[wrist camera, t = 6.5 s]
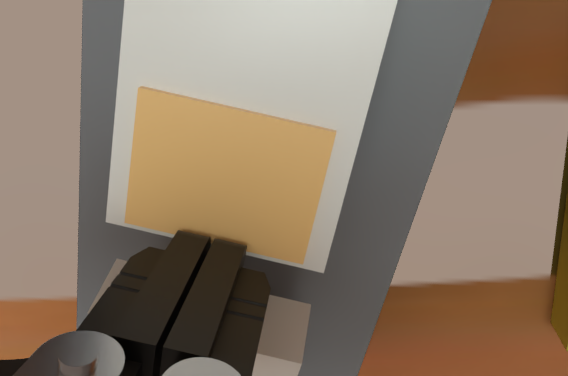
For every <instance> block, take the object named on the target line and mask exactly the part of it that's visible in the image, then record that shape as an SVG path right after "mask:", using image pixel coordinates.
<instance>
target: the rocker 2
mask: <svg viewBox="0 0 568 376" xmlns="http://www.w3.org/2000/svg"><path fill="white" fill-rule="evenodd" d="M126 263H127V261H125V260H121V259H116V261H115V263H114V265H113V266H112V268H111V270H110V272H109V274H108V276H107V277H106V279H105V281H104V283H103V285H102V287H101V289H100V290H99V292H98V294H97V296H96V298H95V300H94V302H93V303H92V305H91V307H90V309H89V311H88V314H89V313H90V311H91V310H92V308H93V307H94V306H95V304H96V303H97V302H98V300H99V299H100V298H101V296H102V295H103V294H104V292H105V291H106V290H107V288H108V287H110V286H111V283H112V281H113V280H114V279H115V277H116V276H117V275H118V274H119V273H120V271H121V269H122V268H123V267H124V265H125V264H126ZM310 309H311V304H307V303H303V302H299V301H294V300H290V299H286V298H282V297H277V296H273V295H269V300H268V304H267V309H266V313H265V318H264V322H263V327H262V331H261V336H260V341H259V345H258V350H257V354H256V359H255V363H254V368H253V373H252V376H298V373H299V371H300V368H301V365H302V360H303V354H304V348H305V341H306V335H307V328H308V322H309V316H310Z"/></svg>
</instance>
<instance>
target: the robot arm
mask: <svg viewBox="0 0 568 376" xmlns="http://www.w3.org/2000/svg"><path fill="white" fill-rule="evenodd" d="M246 249H247V245H243V244H238V243H234V242H230V241H225V240H221V239H216V238H215V239H214V241H213V243H212V245H211V237H207V236H203V235H198V234H194V233H189V232H185V231H180V230H178V231H177V232H176V234H175V235H174V237H173V239H172V240H171V242H170V243H169V245H168V246H167V248H166V250H162V249H158V248H154V247H147V248H146V249H144V250H142V251H140V252H138V253H137V254H135V255H133V256H131V257H130V258H129V260H128V261H127V263H126V264H125V265H124V267H123V268H122V269H121V271H120V273H119V274H118V275H117V276H116V277H115V279H114V280H113V281H112V283H111V286H110V287H108V288H107V290H106V291H105V292H104V294H103V295H102V296H101V298H100V299H99V300H98V302H97V303H96V304H95V306H94V307H93V308H92V310H91V311H90V313H89V314H88V315H87V317H86V318H85V319H84V321H83V322H82V323H81V325H80V326H79V327H78V329H77V330H76V331H73V332H68V333H64V334H61V335H58V336H56V337H54V338H52V339H50V340H48V341H47V342H45V343H44V344H42V345H41V346H40V347H39V348H38V349H37V350H36V351H35V352H34V353H33V354H32V355H31V356H30V357H29V358H25V359H15V360H0V376H252V373H253V368H254V363H255V359H256V354H257V350H258V345H259V341H260V336H261V331H262V327H263V322H264V318H265V313H266V309H267V304H268V300H269V295H270V290H271V288H270V285H269V282H268V280H267V277H266V275H265V273H264V272H260V271H255V270H251V269H247V268H243V266H244V261H245V256H246Z"/></svg>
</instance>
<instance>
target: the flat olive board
mask: <svg viewBox="0 0 568 376" xmlns="http://www.w3.org/2000/svg"><path fill="white" fill-rule="evenodd" d="M551 275H557V276H556V284H555V292H554V299H553V307H552V315H551V324H552V326H553V327H554V329H555V331H556V333H557V335H558V336H559V338H560V340H561V342H562V344H563V345H564V347H565V349H566V351H568V137H567V145H566V153H565V161H564V170H563V178H562V186H561V194H560V203H559V210H558V219H557V226H556V235H555V243H554V251H553V259H552V268H551Z"/></svg>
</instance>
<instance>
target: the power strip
mask: <svg viewBox="0 0 568 376" xmlns="http://www.w3.org/2000/svg"><path fill="white" fill-rule="evenodd" d="M491 2H492V0H398V1H397V5H396V9H395V12H394V16H393V20H392V23H391V27H390V31H389V34H388V38H387V42H386V45H385V49H384V53H383V56H382V60H381V64H380V67H379V71H378V75H377V79H376V82H375V86H374V90H373V93H372V97H371V101H370V104H369V108H368V112H367V115H366V119H365V123H364V126H363V130H362V134H361V137H360V141H359V145H358V149H357V152H356V156H355V160H354V163H353V167H352V171H351V174H350V178H349V182H348V185H347V189H346V193H345V196H344V200H343V204H342V208H341V211H340V215H339V219H338V222H337V226H336V230H335V233H334V237H333V241H332V244H331V248H330V252H329V255H328V259H327V263H326V266H325V270H324V273H321V272H316V271H312V270H308V269H304V268H299V267H295V266H291V265H287V264H282V263H278V262H274V261H269V260H265V259H261V258H257V257H252V256H248V255H246V256H245V261H244V266H243V268H247V269H251V270H255V271H260V272H264V273H265V275H266V277H267V280H268V282H269V285H270V288H271V290H270V295H273V296H277V297H282V298H286V299H290V300H294V301H299V302H303V303H307V304H311V309H310V316H309V322H308V328H307V335H306V341H305V348H304V354H303V360H302V365H301V368H300V371H299V373H298V376H358V373H359V370H360V367H361V364H362V362H363V359H364V356H365V353H366V350H367V348H368V345H369V342H370V339H371V336H372V334H373V331H374V328H375V325H376V323H377V320H378V317H379V314H380V311H381V309H382V306H383V303H384V300H385V297H386V295H387V292H388V289H389V286H390V283H391V281H392V278H393V275H394V272H395V270H396V267H397V264H398V261H399V258H400V256H401V253H402V250H403V247H404V244H405V241H406V238H407V236H408V233H409V230H410V227H411V225H412V222H413V219H414V216H415V214H416V211H417V208H418V205H419V202H420V200H421V197H422V194H423V191H424V189H425V185H426V183H427V180H428V177H429V175H430V172H431V169H432V166H433V163H434V161H435V158H436V155H437V152H438V150H439V146H440V144H441V141H442V138H443V135H444V133H445V130H446V127H447V124H448V122H449V119H450V116H451V113H452V110H453V108H454V105H455V102H456V99H457V96H458V94H459V91H460V88H461V85H462V83H463V80H464V77H465V74H466V71H467V69H468V66H469V63H470V60H471V57H472V55H473V52H474V49H475V46H476V43H477V41H478V38H479V35H480V32H481V30H482V27H483V24H484V21H485V18H486V16H487V13H488V10H489V7H490V4H491ZM123 12H124V0H83V15H82V17H83V18H82V70H81V122H80V126H81V127H80V178H79V179H80V180H79V229H78V232H79V233H78V282H77V284H78V286H77V288H78V289H77V329H78V327H79V326H80V325H81V323H82V322H83V321H84V319H85V318H86V317H87V315H88V311H89V309H90V307H91V305H92V303H93V302H94V300H95V298H96V296H97V294H98V292H99V290H100V289H101V287H102V285H103V283H104V281H105V279H106V277H107V276H108V274H109V272H110V270H111V268H112V266H113V265H114V263H115V261H116V259H121V260H125V261H128V260H129V258H130V257H131V256H133V255H135V254H137V253H138V252H140V251H142V250H144V249H146V248H147V247H154V248H158V249H162V250H166V248H167V246H168V245H169V243H170V242H171V240H172V239H173V238H171V237H167V236H163V235H159V234H154V233H150V232H146V231H142V230H137V229H133V228H129V227H124V226H120V225H116V224H112V223H107V222H106V211H107V200H108V188H109V176H110V165H111V153H112V141H113V129H114V118H115V106H116V94H117V83H118V71H119V59H120V47H121V36H122V24H123Z"/></svg>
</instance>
